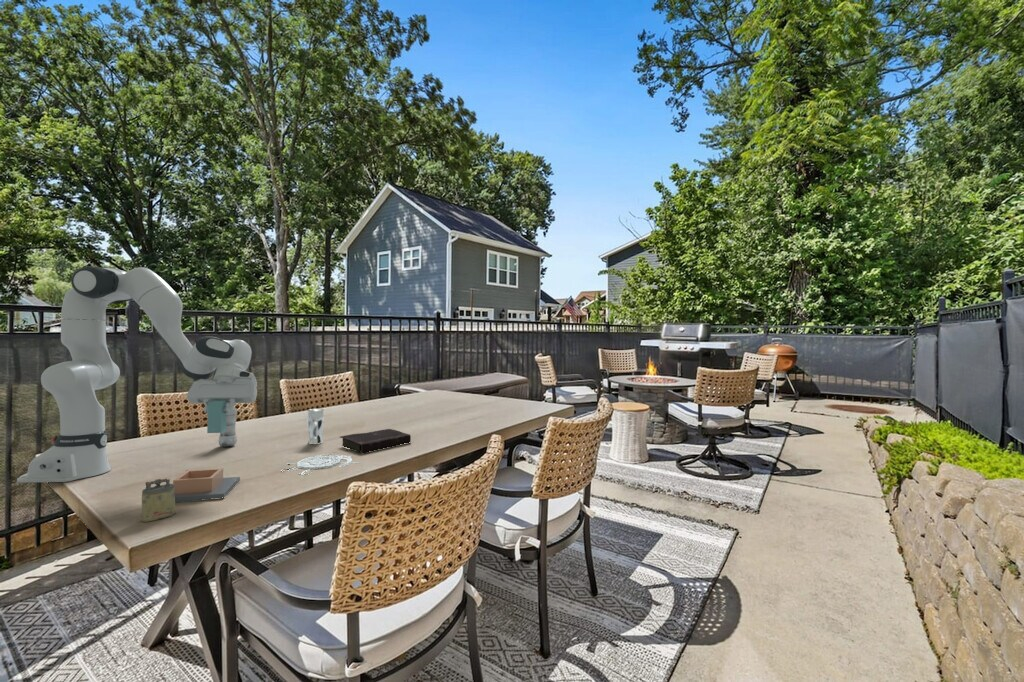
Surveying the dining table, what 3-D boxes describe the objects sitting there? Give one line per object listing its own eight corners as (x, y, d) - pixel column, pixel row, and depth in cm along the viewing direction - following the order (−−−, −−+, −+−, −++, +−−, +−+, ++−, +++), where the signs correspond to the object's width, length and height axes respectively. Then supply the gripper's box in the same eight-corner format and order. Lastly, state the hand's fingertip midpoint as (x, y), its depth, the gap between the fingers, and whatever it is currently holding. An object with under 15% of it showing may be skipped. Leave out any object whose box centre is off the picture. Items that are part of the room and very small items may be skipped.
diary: (411, 445, 202) (411, 434, 202) (362, 456, 183) (362, 444, 183) (386, 437, 214) (386, 427, 214) (338, 447, 195) (338, 436, 194)
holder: (152, 504, 127) (152, 485, 127) (176, 485, 142) (176, 468, 142) (223, 498, 132) (224, 480, 132) (239, 481, 147) (240, 464, 147)
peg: (207, 433, 144) (207, 402, 144) (212, 430, 148) (213, 400, 147) (221, 432, 145) (221, 402, 144) (226, 430, 148) (226, 400, 148)
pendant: (367, 462, 173) (367, 459, 173) (294, 480, 152) (294, 476, 152) (339, 452, 187) (339, 449, 187) (268, 467, 165) (268, 463, 165)
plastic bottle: (223, 444, 194) (224, 398, 194) (239, 444, 194) (240, 399, 194) (215, 448, 187) (215, 401, 187) (231, 448, 188) (232, 401, 188)
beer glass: (317, 445, 195) (317, 411, 195) (303, 444, 197) (303, 410, 196) (326, 441, 202) (327, 409, 202) (313, 440, 203) (313, 408, 203)
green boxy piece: (173, 511, 122) (173, 475, 122) (177, 515, 120) (177, 478, 119) (139, 519, 117) (140, 482, 116) (143, 523, 114) (143, 485, 114)
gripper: (191, 373, 150) (176, 406, 141) (258, 373, 155) (247, 405, 145) (198, 384, 155) (183, 418, 145) (262, 384, 159) (252, 416, 150)
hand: (216, 412), depth 145 cm, fingers closed on peg, 4 cm apart
